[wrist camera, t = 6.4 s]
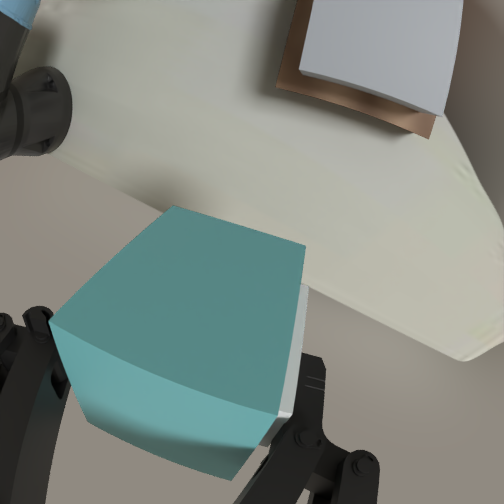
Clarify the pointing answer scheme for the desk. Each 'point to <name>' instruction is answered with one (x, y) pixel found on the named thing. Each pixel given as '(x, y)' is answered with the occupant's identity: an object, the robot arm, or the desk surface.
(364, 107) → the tower base
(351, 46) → the tower top
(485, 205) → the desk surface
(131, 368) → the block
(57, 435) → the robot arm
